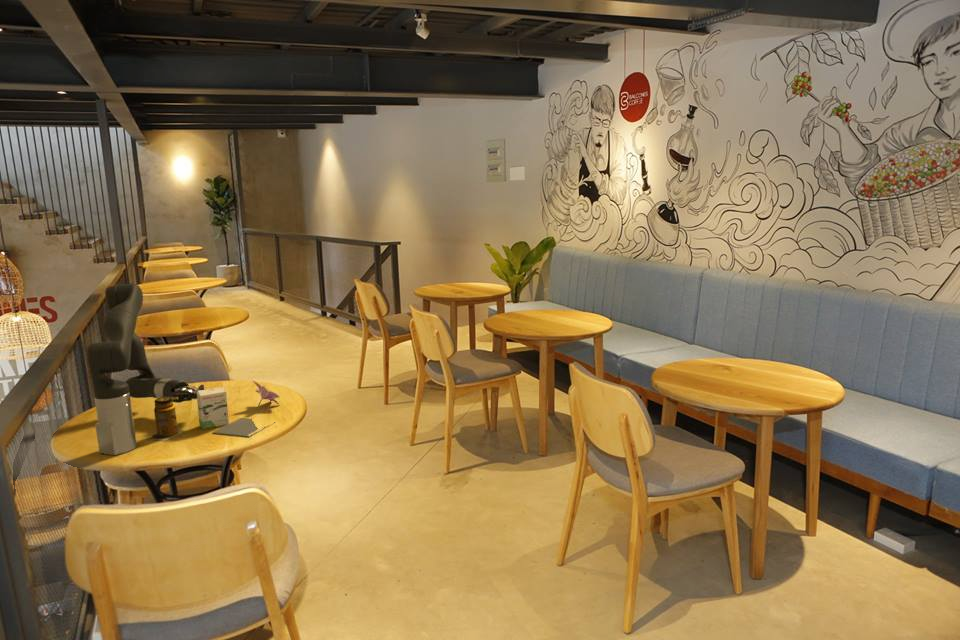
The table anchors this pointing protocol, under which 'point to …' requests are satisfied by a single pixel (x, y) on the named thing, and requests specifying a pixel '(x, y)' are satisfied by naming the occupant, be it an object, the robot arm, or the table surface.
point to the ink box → (212, 407)
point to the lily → (266, 394)
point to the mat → (239, 428)
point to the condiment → (165, 419)
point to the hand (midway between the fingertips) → (206, 396)
